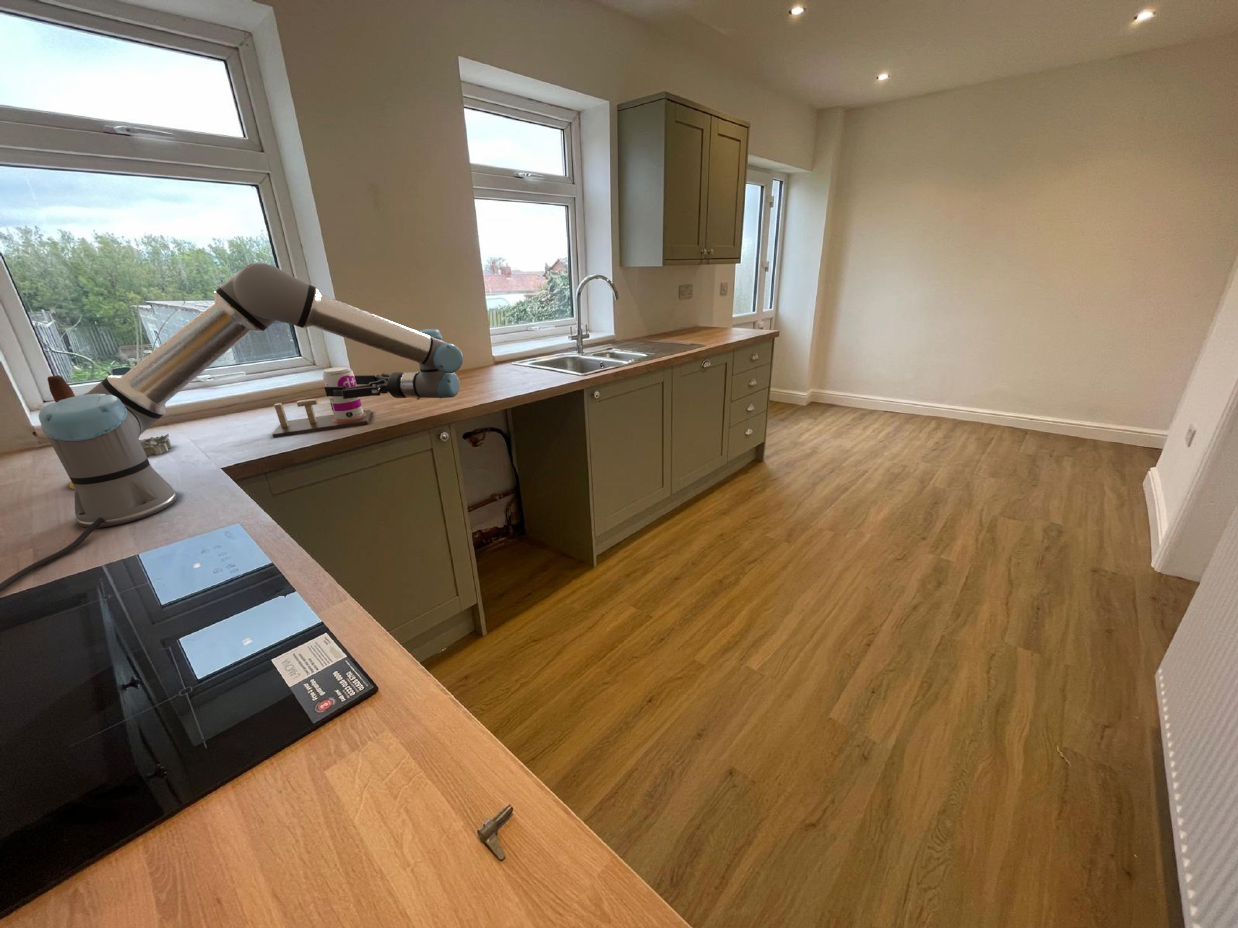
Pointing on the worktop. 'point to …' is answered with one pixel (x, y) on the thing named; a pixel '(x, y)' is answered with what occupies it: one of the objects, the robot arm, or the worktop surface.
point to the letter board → (317, 426)
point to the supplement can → (340, 406)
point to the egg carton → (156, 445)
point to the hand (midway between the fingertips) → (341, 385)
